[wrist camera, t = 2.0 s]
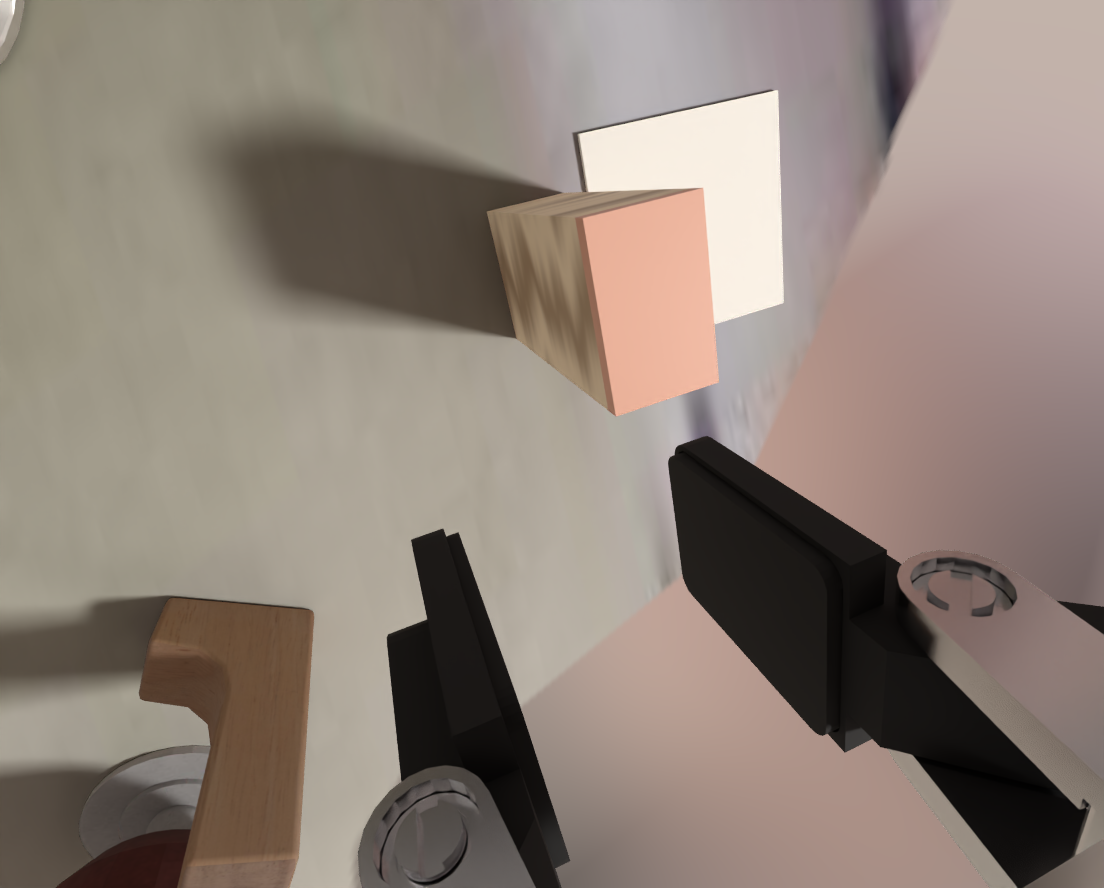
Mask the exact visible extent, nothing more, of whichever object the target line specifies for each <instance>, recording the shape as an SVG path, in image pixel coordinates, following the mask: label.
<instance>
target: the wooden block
mask: <svg viewBox="0 0 1104 888" xmlns="http://www.w3.org/2000/svg"><path fill="white" fill-rule="evenodd" d="M313 626H314V613H313V611H311V610H306V609H295V608H284V607H273V606H262V605H250V604H239V603H228V602H217V601H206V600H195V599H184V598H170V599H169V600H168V601H167V602H166V603H165V605H164V608H163V610H162V612H161V615H160V617H159V619H158V621H157V624H156V626H155V628H154V631H153V633H152V635H151V638H150V640H149V643H148V648H147V653H146V658H145V664H144V669H143V674H142V679H141V685H140V690H139V696H140V699H142V700H144V701H150V702H157V703H163V704H170V705H177V706H184V707H188V708H190V709H191V710H192V711H193V712H194V713H195V714H197V715H198V716H199V717H200V718H201V719H202V720H204V721H205V722H206V723H207V724H208V729H209V737H210V745H211V747H210V752H209V756H208V760H207V764H206V768H205V773H204V777H203V781H202V785H201V789H200V794H199V798H198V802H197V806H196V810H195V815H194V819H193V823H192V827H191V831H190V835H189V840H188V844H187V848H186V852H185V856H184V861H183V865H182V869H181V873H180V878H179V882H178V886H177V888H289V887H290V884H291V881H292V878H293V874H294V871H295V868H296V864H297V861H298V858H299V845H300V830H301V814H302V798H303V783H304V767H305V752H306V736H307V720H308V705H309V688H310V672H311V656H312V641H313Z"/></svg>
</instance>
